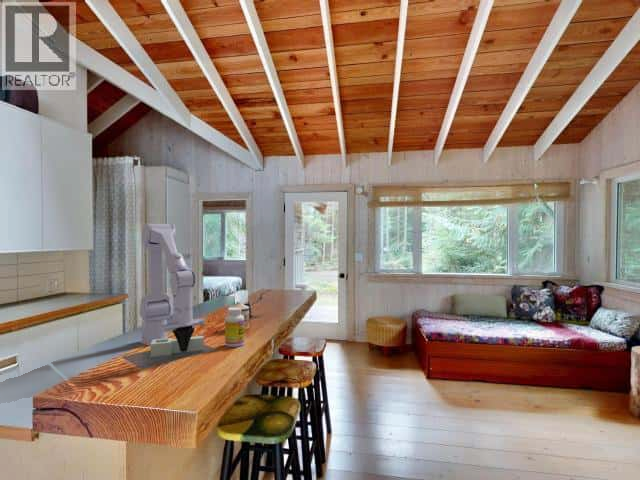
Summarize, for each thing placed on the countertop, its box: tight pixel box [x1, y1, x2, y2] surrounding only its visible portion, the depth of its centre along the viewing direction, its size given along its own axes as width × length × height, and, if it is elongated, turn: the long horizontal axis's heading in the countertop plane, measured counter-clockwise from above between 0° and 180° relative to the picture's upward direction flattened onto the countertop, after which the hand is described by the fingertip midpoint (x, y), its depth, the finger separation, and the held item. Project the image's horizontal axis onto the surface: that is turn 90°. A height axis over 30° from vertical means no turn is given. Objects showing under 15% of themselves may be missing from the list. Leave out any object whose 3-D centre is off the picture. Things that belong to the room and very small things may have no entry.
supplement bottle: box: [224, 307, 245, 348], centre depth 126 cm, size 7×7×13 cm
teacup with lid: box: [227, 300, 250, 331], centre depth 151 cm, size 12×9×12 cm
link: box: [150, 335, 205, 357], centre depth 117 cm, size 16×6×4 cm, turn 109°
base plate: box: [121, 344, 218, 369], centre depth 115 cm, size 17×24×1 cm
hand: (183, 350), depth 112 cm, fingers closed
